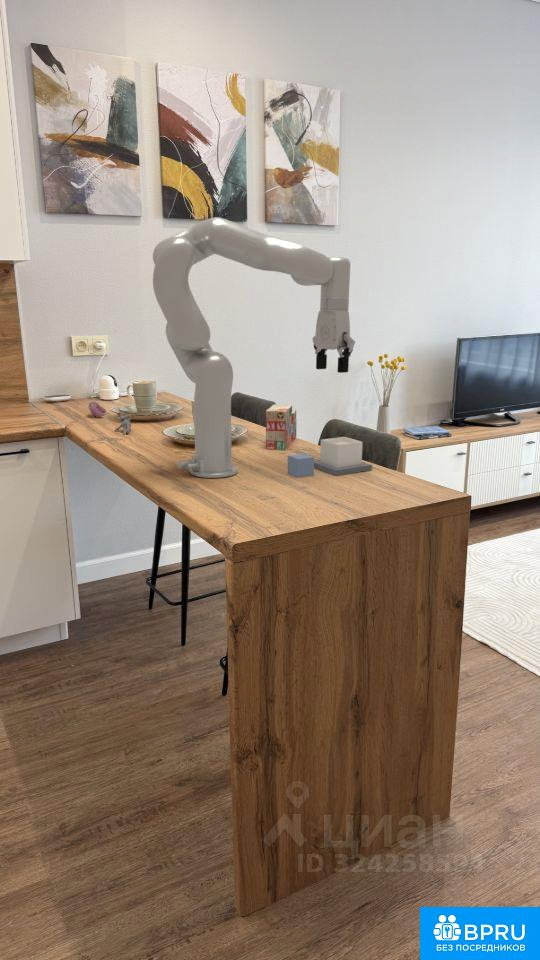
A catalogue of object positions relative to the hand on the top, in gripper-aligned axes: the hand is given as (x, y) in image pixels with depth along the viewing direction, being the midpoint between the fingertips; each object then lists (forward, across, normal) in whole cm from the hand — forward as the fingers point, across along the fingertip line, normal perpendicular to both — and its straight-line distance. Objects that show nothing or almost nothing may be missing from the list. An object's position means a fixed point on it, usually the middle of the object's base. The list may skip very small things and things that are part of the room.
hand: (331, 370), depth 190 cm
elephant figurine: (+27, -72, -32) cm, 83 cm away
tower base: (+26, +7, -1) cm, 27 cm away
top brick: (+26, +7, -14) cm, 31 cm away
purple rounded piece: (+27, -109, -30) cm, 116 cm away
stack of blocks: (+26, -30, +4) cm, 40 cm away
